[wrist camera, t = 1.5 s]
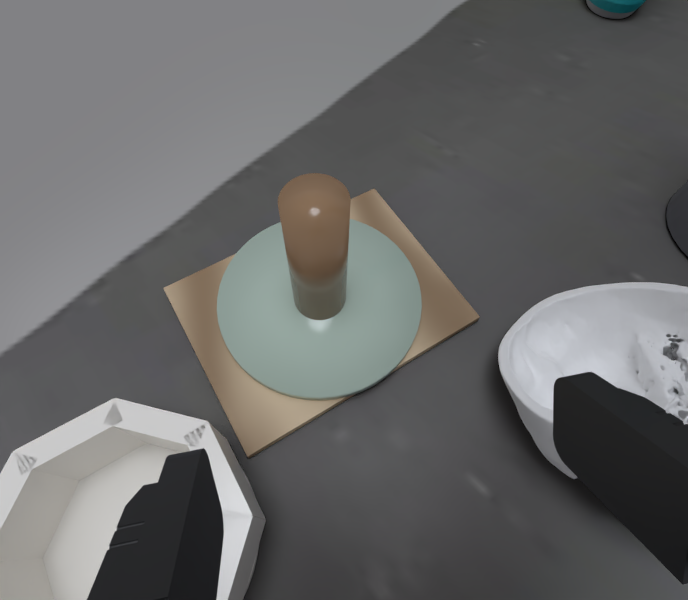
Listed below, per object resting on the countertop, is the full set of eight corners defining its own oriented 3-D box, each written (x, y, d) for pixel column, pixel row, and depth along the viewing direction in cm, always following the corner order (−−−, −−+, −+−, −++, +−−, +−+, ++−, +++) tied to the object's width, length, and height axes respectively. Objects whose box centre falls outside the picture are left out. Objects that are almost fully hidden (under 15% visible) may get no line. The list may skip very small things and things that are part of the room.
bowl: (206, 393, 27) (180, 363, 22) (299, 582, 23) (289, 593, 18) (10, 501, 24) (-67, 492, 19) (73, 740, 20) (-6, 800, 15)
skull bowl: (744, 671, 20) (807, 547, 13) (487, 476, 31) (447, 350, 24) (843, 498, 24) (936, 326, 16) (580, 375, 34) (569, 239, 27)
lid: (351, 195, 33) (358, 72, 24) (460, 333, 28) (516, 241, 20) (187, 273, 30) (127, 163, 21) (278, 443, 25) (249, 391, 16)
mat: (373, 194, 34) (374, 188, 33) (477, 321, 29) (479, 317, 29) (166, 292, 30) (163, 288, 29) (249, 458, 25) (247, 456, 25)
